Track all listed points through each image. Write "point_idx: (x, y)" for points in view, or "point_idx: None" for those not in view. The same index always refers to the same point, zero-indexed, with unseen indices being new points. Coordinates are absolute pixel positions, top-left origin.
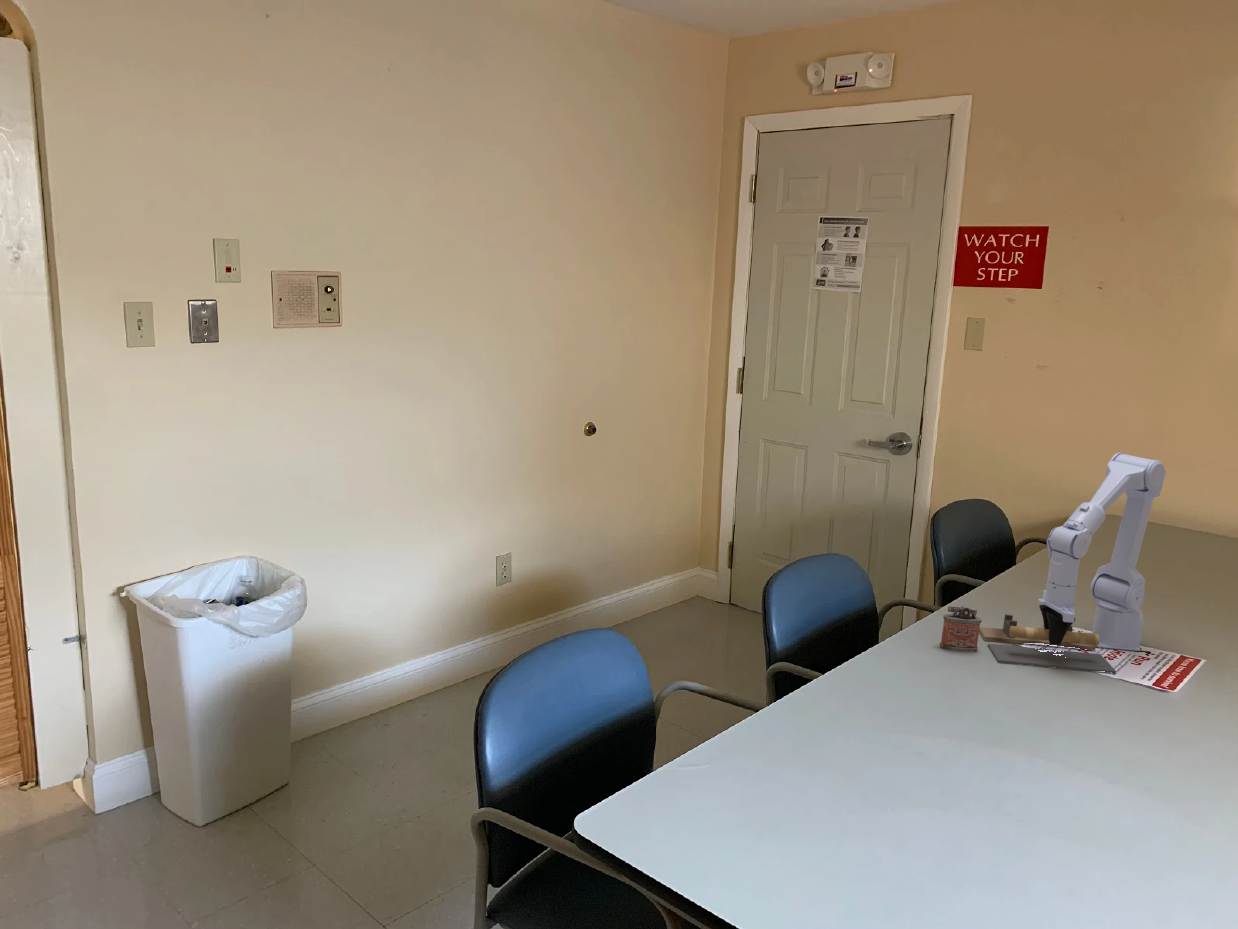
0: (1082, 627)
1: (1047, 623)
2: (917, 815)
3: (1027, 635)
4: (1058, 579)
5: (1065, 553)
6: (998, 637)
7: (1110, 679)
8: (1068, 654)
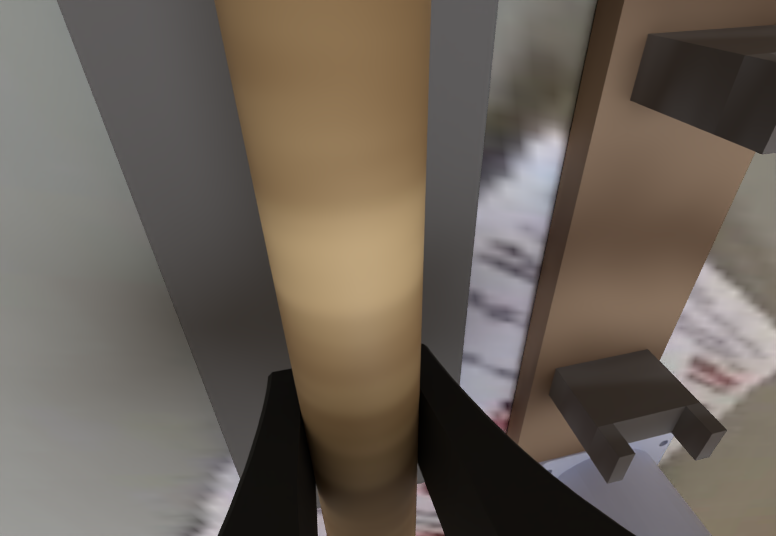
0: (732, 416)
1: (459, 482)
2: None
3: (257, 204)
4: None
5: None
6: None
7: (171, 500)
8: None
